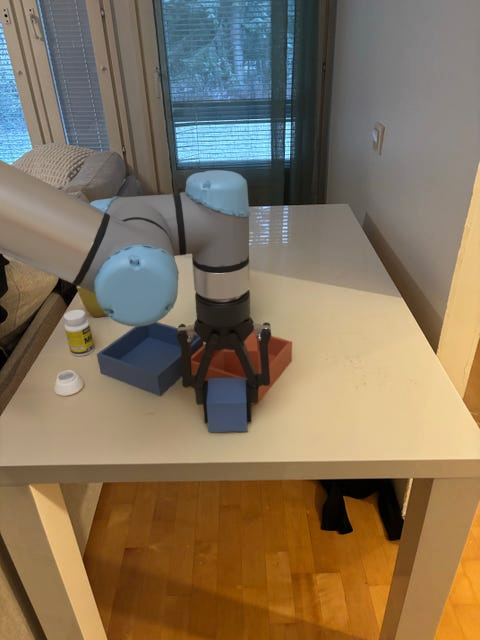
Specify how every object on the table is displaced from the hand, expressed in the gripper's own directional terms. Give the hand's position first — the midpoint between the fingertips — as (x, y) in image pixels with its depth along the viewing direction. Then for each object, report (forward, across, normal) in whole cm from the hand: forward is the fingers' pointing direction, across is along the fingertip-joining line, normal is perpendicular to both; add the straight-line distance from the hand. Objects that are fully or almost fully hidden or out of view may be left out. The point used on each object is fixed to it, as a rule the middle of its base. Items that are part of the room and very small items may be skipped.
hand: (228, 416), depth 75 cm
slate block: (0, 0, 0) cm, 0 cm away
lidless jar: (+1, +29, -10) cm, 30 cm away
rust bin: (+1, -2, -13) cm, 14 cm away
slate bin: (+1, +15, -16) cm, 22 cm away
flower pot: (+1, +29, -37) cm, 47 cm away
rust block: (0, -2, -13) cm, 14 cm away
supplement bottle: (+1, +30, -22) cm, 37 cm away
